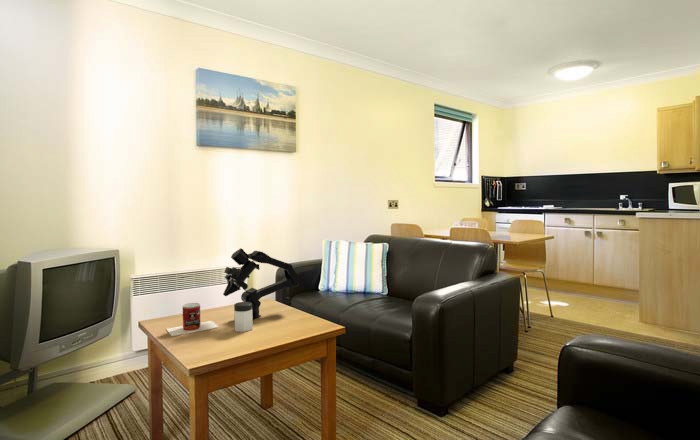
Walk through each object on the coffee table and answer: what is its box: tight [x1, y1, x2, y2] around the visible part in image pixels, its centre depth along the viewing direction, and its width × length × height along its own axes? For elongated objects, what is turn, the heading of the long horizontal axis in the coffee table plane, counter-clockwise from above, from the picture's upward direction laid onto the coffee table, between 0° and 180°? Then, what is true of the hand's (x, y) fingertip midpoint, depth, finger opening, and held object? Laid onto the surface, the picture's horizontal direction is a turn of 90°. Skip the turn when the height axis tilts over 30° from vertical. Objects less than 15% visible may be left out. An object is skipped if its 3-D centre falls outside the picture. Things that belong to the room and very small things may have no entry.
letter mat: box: [165, 320, 220, 337], centre depth 181 cm, size 21×12×1 cm, turn 126°
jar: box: [233, 301, 254, 333], centre depth 180 cm, size 9×8×12 cm
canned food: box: [182, 302, 201, 330], centre depth 181 cm, size 8×8×11 cm
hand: (224, 295), depth 190 cm, fingers closed
